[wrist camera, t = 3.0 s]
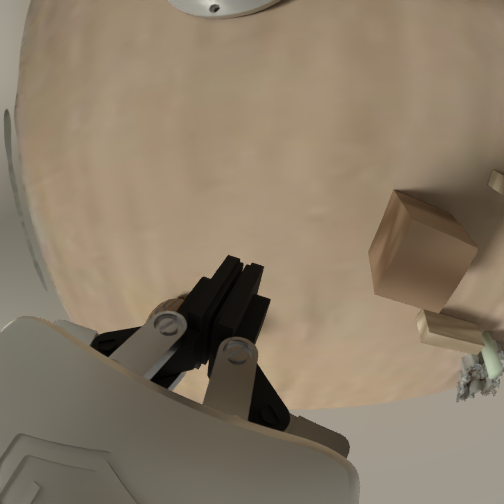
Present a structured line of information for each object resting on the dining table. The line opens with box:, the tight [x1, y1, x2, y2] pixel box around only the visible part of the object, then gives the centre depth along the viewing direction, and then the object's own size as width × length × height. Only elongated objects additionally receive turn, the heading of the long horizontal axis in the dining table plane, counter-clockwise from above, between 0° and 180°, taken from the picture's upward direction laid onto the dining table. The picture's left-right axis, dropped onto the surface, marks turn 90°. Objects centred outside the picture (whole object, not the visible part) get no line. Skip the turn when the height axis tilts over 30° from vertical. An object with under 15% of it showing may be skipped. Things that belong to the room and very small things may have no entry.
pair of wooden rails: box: [416, 170, 504, 355], centre depth 17 cm, size 17×9×4 cm, turn 170°
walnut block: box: [368, 190, 479, 314], centre depth 18 cm, size 6×6×6 cm
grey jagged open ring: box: [457, 340, 504, 402], centre depth 23 cm, size 11×8×4 cm
